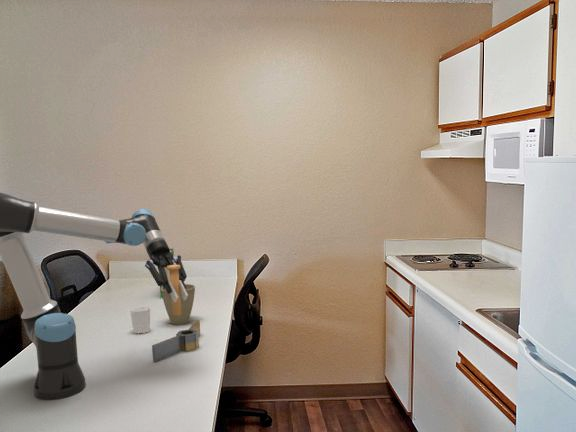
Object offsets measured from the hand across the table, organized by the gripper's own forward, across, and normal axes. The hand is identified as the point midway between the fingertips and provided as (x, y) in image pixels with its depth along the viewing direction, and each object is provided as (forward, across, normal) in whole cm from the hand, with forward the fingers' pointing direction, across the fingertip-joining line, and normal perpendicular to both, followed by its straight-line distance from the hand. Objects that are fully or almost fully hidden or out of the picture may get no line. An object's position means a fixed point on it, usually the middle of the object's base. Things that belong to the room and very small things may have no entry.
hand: (181, 298), depth 183 cm
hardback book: (-56, -47, -92) cm, 118 cm away
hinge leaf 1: (+6, -5, -29) cm, 30 cm away
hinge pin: (+2, 0, -7) cm, 7 cm away
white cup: (-19, -7, -54) cm, 58 cm away
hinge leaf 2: (+1, -16, -34) cm, 37 cm away
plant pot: (-19, -26, -54) cm, 63 cm away
